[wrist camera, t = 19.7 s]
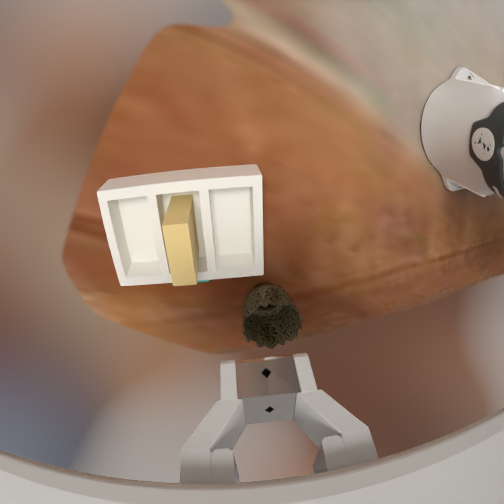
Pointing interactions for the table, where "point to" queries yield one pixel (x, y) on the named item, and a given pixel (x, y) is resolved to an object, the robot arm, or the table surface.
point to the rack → (206, 214)
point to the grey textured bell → (270, 316)
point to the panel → (181, 240)
